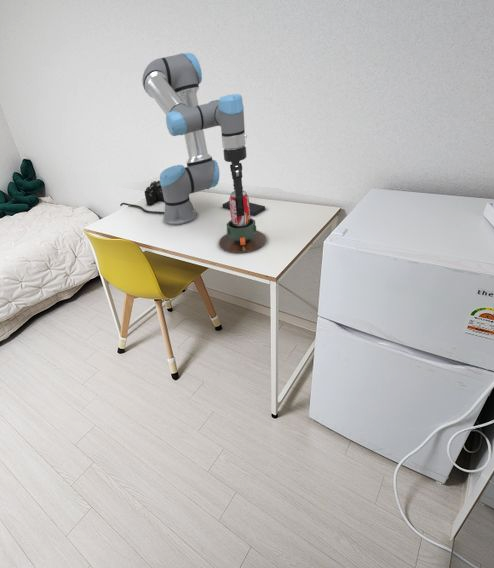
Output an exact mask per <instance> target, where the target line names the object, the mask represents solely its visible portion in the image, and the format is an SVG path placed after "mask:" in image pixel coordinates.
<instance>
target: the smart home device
mask: <svg viewBox="0 0 494 568" xmlns="http://www.w3.org/2000/svg"><path fill="white" fill-rule="evenodd" d="M222 208H223V209H226V210H228V211H230V203H229V200H228V201H226V202H224V203H222ZM249 209H250V216H253V217H255V216H257V215H259V214H260V213H262V212H264V211H266V206H265V205H262V204H256V203H252V202H249Z"/></svg>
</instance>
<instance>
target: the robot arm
mask: <svg viewBox="0 0 494 568" xmlns="http://www.w3.org/2000/svg"><path fill="white" fill-rule="evenodd" d="M201 68H202V67H201V65H200V62H199V60H198V58H197V56H196V55H195V54H194V53H193V52H184V53H183V52H182V53H178V54H174V55H168V56H163V57H159V58H155V59H153V60H151V61H150V62H149V63H148V64H147V66H146V67H145V69H144V71H143V74H142V79H141V82H142V86H143V89H144V91H145V93H146V94H147V95H148V96H149V97H150V98H152V99H154V101H155V102H156V104H157V105H158V106H159V108H160V109H161V110H162V112H163V113H164V114H165V124H166V128H167V130H168V133H169V134H170V135H171V136H172V137H177V136H184V141H185V145H186V151H187V156H188V159H187V160H186V166H185V165H183V164H176V165H172V166H169V167H167V168H165V169H163V170H162V171H161V173H160V174H159V180H160V185H161V187H162V192H163V197H164V201H163V202H164V211H160V210H159V211H158V210H157V211H155V210H147V209H145V208H143V206H141V205H137V204H131V203H127V202H122V203H120V204H119V206H120V207H122V206H123V205H125V206H128V207H133V208H138V209H141V210H142V211H143V212H144V213H148V214H160V215H162V214H163V220H164V223H165V224H167V225H171V226H181V225H185V224H188V223H190V222H192V221H194V220H196V217H197V211H196V208H195V207H194V205H193V203H192V202H191V199H190V194H194V193H198V192H201V191H205V190H210V189H212V188H215V187H216V186H217V185H218V184H219V181H220V167H219V165H218V164H219V163H218V162H217V160H215V159H213V156H212V155H211V154H209V153H208V149H207V148H208V147H207V142H206V136H205V132H204V130H206V129H211V128H215V127H220V131H221V132H220V133H221V142H222V148H223V159H224V161H225V162H227V163H231V164H229V168H230V172H231V178H232V179H231V180H233V181H232V182H233V184H232V185H233V191H235V196H236V197H235V198H234V200H235V201H236V212H237V217H238V216H245V215H244V202H243V198H244V197H243V191H244V190H243V189H244V186H243V179H242V178H243V164H242V162H241V161H243V160H245V159H246V158H247V147H246V146H245V145H246V139H247V138H248V135H247V134H245V133H246V131H245V129H246V128H245V112H244V111H245V110H244V108H245V106H244V103H243V96H242V95H241V94H239V93H233V94H226V95H223V96H220V97H219V98H218V99H215V100H211V101H209V102H207V103H203V104H199V100H198V95H197V93H198V91H199V89H200V84H201V83H202V81H203V76H202V75H203V73H202V69H201Z"/></svg>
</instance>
